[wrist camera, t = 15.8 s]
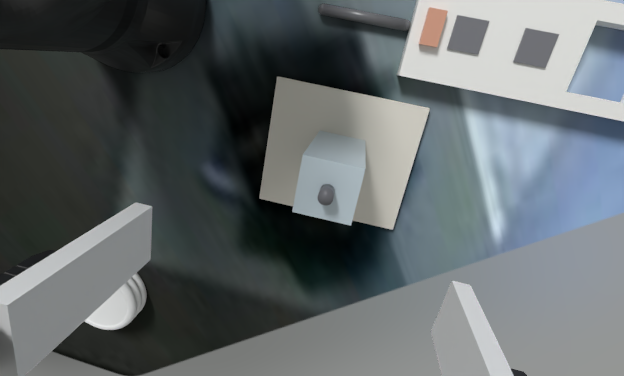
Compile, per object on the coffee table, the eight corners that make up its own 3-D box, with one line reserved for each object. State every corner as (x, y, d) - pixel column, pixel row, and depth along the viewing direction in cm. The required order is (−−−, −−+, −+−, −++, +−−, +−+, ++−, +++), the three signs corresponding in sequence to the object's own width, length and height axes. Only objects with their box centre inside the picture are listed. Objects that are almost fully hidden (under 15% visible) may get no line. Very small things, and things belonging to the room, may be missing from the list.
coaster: (117, 244, 47) (99, 257, 44) (162, 300, 50) (147, 316, 46) (70, 272, 50) (49, 287, 47) (114, 324, 52) (97, 341, 49)
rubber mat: (260, 196, 42) (259, 198, 41) (278, 76, 37) (277, 76, 36) (392, 227, 41) (392, 229, 40) (428, 107, 36) (429, 108, 35)
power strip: (310, 57, 36) (306, 56, 33) (328, -44, 33) (325, -53, 30) (687, 134, 33) (713, 140, 31) (746, 33, 30) (780, 30, 28)
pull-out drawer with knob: (311, 173, 39) (288, 219, 27) (319, 130, 38) (299, 159, 26) (354, 183, 39) (350, 234, 27) (365, 140, 37) (365, 174, 25)
